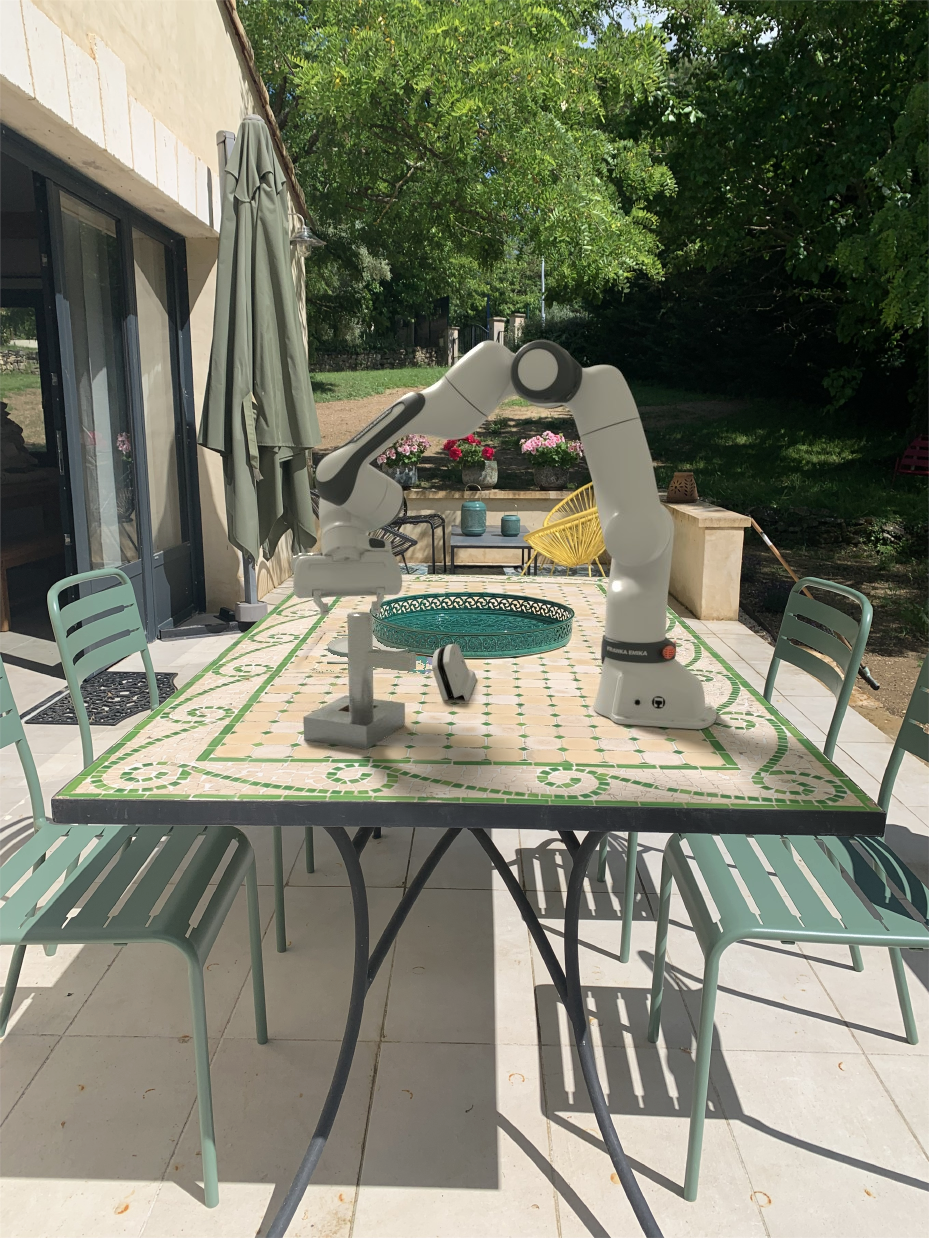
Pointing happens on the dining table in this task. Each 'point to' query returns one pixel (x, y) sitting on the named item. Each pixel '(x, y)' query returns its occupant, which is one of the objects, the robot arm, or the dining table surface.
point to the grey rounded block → (452, 673)
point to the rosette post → (360, 694)
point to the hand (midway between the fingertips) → (350, 612)
